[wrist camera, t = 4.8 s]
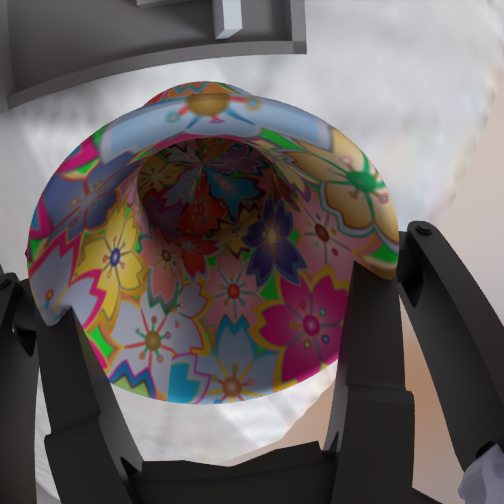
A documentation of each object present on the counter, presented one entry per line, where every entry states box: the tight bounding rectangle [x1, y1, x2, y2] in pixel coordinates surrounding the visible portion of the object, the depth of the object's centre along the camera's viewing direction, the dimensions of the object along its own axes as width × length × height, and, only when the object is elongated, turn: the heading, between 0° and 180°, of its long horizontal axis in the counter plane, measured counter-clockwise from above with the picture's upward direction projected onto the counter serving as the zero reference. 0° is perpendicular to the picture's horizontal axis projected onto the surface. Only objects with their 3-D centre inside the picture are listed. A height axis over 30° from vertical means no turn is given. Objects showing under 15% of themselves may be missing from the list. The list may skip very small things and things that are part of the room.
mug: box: [27, 81, 399, 404], centre depth 12 cm, size 12×9×11 cm
